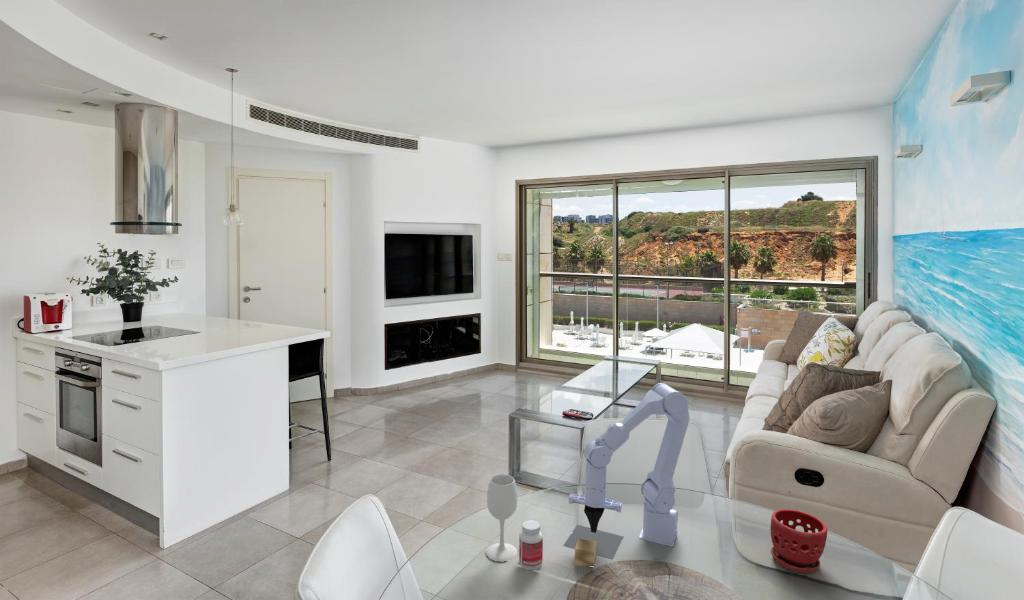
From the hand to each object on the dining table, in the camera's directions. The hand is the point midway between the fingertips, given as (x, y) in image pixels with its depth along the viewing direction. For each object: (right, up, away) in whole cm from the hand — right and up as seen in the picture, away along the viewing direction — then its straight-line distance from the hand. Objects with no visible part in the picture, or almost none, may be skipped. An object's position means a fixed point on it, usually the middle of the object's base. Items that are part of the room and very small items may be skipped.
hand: (594, 530), depth 152 cm
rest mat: (0, -3, 0) cm, 4 cm away
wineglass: (-26, -4, -5) cm, 27 cm away
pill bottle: (-18, -5, -10) cm, 21 cm away
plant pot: (+53, -5, -8) cm, 53 cm away
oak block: (-4, -5, -9) cm, 11 cm away
